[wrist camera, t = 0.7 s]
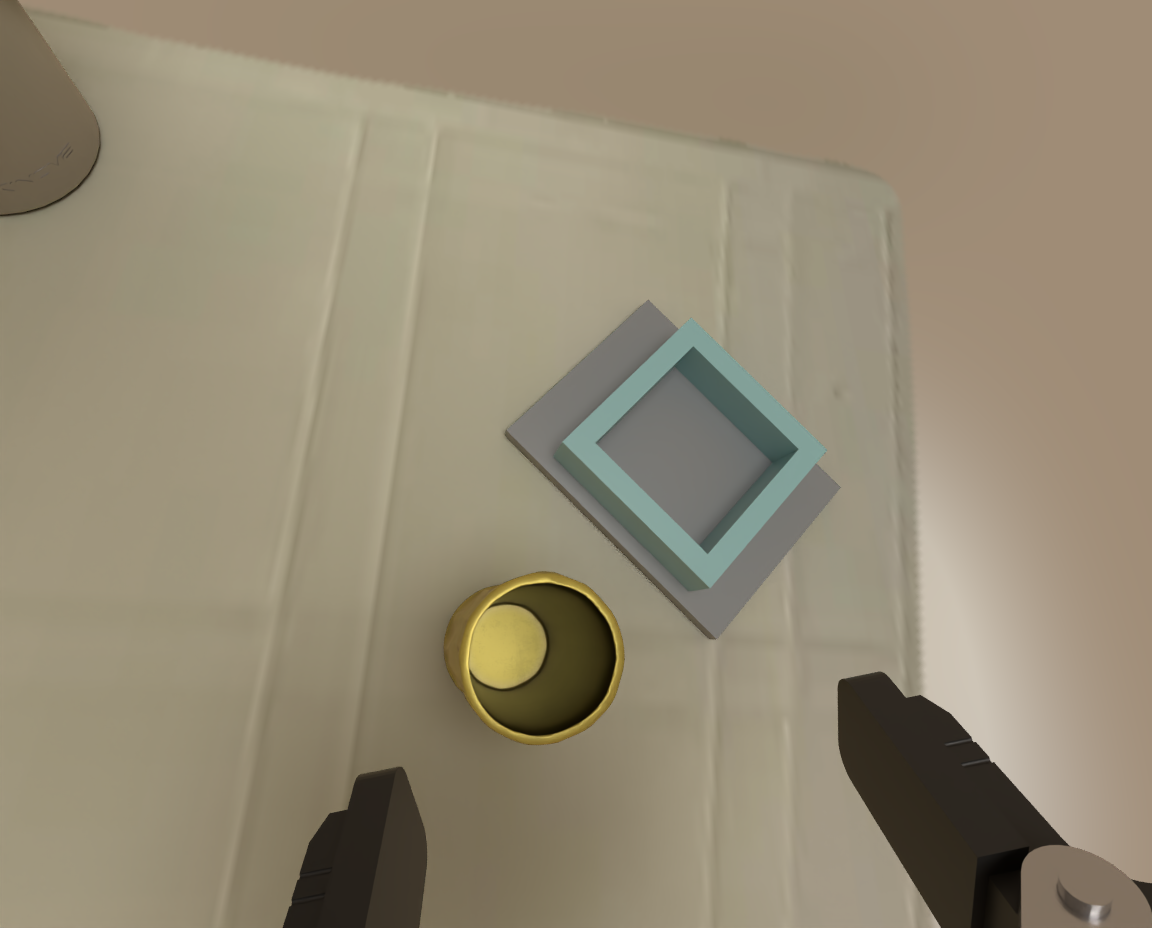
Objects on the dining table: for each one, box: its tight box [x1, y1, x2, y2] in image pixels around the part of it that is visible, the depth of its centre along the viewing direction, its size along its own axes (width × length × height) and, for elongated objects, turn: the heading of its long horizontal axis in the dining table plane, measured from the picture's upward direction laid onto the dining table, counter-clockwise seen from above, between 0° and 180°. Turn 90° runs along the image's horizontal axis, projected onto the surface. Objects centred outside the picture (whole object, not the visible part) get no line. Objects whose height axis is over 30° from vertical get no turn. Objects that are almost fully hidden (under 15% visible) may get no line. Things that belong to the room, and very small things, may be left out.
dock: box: [505, 300, 841, 639], centre depth 36 cm, size 16×12×4 cm
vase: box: [444, 571, 625, 745], centre depth 27 cm, size 6×6×14 cm
